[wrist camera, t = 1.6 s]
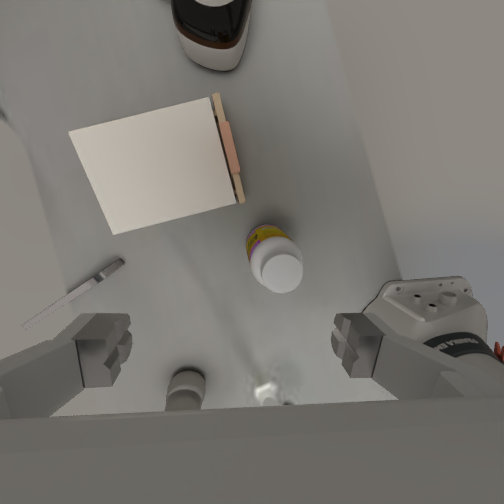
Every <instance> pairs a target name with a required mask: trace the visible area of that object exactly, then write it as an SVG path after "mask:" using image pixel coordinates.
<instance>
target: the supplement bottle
mask: <svg viewBox="0 0 504 504" xmlns="http://www.w3.org/2000/svg"><path fill="white" fill-rule="evenodd" d="M246 250H247V254H248V259H249V263H250V267H251V271H252V274H253V275H254V277H255V278H256V280H257V281H258V282H259V283H261V284H262V285H264V286H266V287H267V288H268V289H269V290H271V291H273V292H276V293H287V292H290V291H292V290H294V289H295V288H296V287H297V286H298V285H299V284H300V283H301V281H302V278H303V256H302V253H301V251H300V249H299V247H298V246H297V245H296V244H295V243H294V242H293V241H292V240H291V239H290V238H289V237H288V236H287V235H286V234H285V233H284V232H283V231H282V230H281V229H280V228H278V227H276V226H274V225H268V224H267V225H261V226H258V227H256V228H255V229H254V230H252V231H251V233H250V234H249V236H248V238H247V241H246Z"/></svg>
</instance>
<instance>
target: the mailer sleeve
mask: <svg viewBox="0 0 504 504" xmlns="http://www.w3.org/2000/svg"><path fill="white" fill-rule="evenodd" d="M68 133H69V135H70V138H71V140H72V142H73V144H74V147H75V149H76V151H77V154H78V156H79V158H80V160H81V163H82V165H83V167H84V169H85V172H86V174H87V176H88V179H89V181H90V183H91V185H92V188H93V190H94V192H95V194H96V197H97V199H98V201H99V204H100V206H101V208H102V210H103V213H104V215H105V217H106V220H107V222H108V224H109V226H110V229H111V231H112V233H113V235H115V234H119V233H122V232H126V231H130V230H134V229H138V228H142V227H146V226H150V225H154V224H158V223H161V222H165V221H169V220H173V219H177V218H181V217H185V216H189V215H193V214H197V213H200V212H204V211H208V210H212V209H216V208H220V207H224V206H228V205H232V204H236V200H235V196H234V192H233V188H232V184H231V180H230V177H229V173H228V169H227V165H226V161H225V157H224V153H223V150H222V146H221V142H220V138H219V134H218V130H217V126H216V123H215V119H214V115H213V111H212V107H211V103H210V99H209V97H207V98H203V99H198V100H194V101H190V102H186V103H182V104H178V105H174V106H170V107H166V108H162V109H158V110H154V111H150V112H146V113H142V114H138V115H134V116H130V117H126V118H122V119H118V120H114V121H110V122H106V123H102V124H98V125H94V126H90V127H86V128H82V129H78V130H74V131H70V132H68Z"/></svg>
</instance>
